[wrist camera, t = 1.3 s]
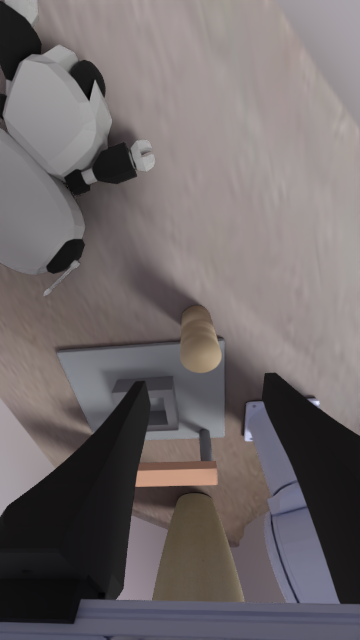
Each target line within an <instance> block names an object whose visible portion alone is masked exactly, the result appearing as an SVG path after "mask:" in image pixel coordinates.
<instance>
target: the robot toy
mask: <svg viewBox="0 0 360 640" xmlns="http://www.w3.org/2000/svg"><path fill="white" fill-rule="evenodd" d="M4 1H5V3H3V2H2V1H0V65H1V67H2V70H3V72H4V75H5V77H6V95H4V94H0V117H1V118H2V119H3V120H4V121H5V124H6V127H7V130H8V133H7V132H6V131H4V130H3V129H1V128H0V263H1V264H3V265H5V266H7V267H9V268H11V269H13V270H16V271H18V272H21V273H26V274H31V275H37V274H41V273H45V272H51V273H53V274H54V273H58V272H62V271H65V270H67V271H66V272H65V273H64V274H63V275H62V276H61V277H60V278H59V279H58V280H57V281H56V282H55V283H54V284H53V285H52V286H51V287H50V288H48V289H47V290H46V291H45V292H44V294H43V296H46V295H48V294H50V293H51V292H52V291H53V289H54V288H55V287H56V286H57V285H58V284H59V283H60V282H61V281H62V280H63V279H64V278H65V277H66V276H67V275H68V274H69V273H70V272H71V271H72V270H73V269H74V268H75V269H76V268H77V267H78V266H79V265H80V263H79V262H78V260H79V258H80V257H81V255H82V252H83V249H84V246H85V244H84V242H83V240H82V237H83V234H84V230H85V223H84V220H83V216H82V213H81V211H80V209H79V207H78V205H77V203H76V201H75V200H74V198H73V196H72V195H71V193H70V192H69V190H68V189H67V188H66V186H65V185H64V184H63V182H62V181H64V182H65V183H67V185H68V187H69V189H70V191H71V192H72V193H74V194H75V195H79V194H82V193H84V192H87V191H90V185H89V184H91V183H94V182H96V181H102V182H107V183H113V184H118V183H121V182H124V181H126V180H129V179H132V178H134V177H137V174H136V171H135V169H136V170H140V171H146V172H147V171H148V170H149V169H151V168H152V167H153V166H154V164H155V157H154V154H153V153H152V154H151V155H148V156H146V157H143V158H142V155H143V154H145V153H147V152H150V151H152V147H151V144H150V143H149V142H148V141H147V140H146V139H145V140H136V142H135V143H134V144H133V146H132V147H131V148H130V150H129V151H128V148H127V146H126V144H125V143H124V142H123V143H121V144H118V145H116V146H113V147H111V148H108V142H107V138H108V134H109V131H110V127H111V124H112V118H111V115H110V112H109V109H108V106H107V103H106V101H105V99H104V97H105V83H104V79H103V77H102V75H101V73H100V72H99V70H98V69H97V68H96V66H95V65H94V64H93V63H91V62H89V61H86V60H83V61H80V62H79V61H78V59H77V57H76V55H75V53H74V52H72V51H70V50H69V49H67V48H65V47H63V46H61V45H57V46H56V47H54V48H52V49H51V50H49V51H48V52H46V53H44V54H43V55H41V46H42V44H41V41H40V39H39V37H38V35H37V33H36V32H35V30H34V29H33V27H34V25H35V24H36V22H37V21H38V20H39V11H38V0H4ZM61 180H62V181H61Z"/></svg>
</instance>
